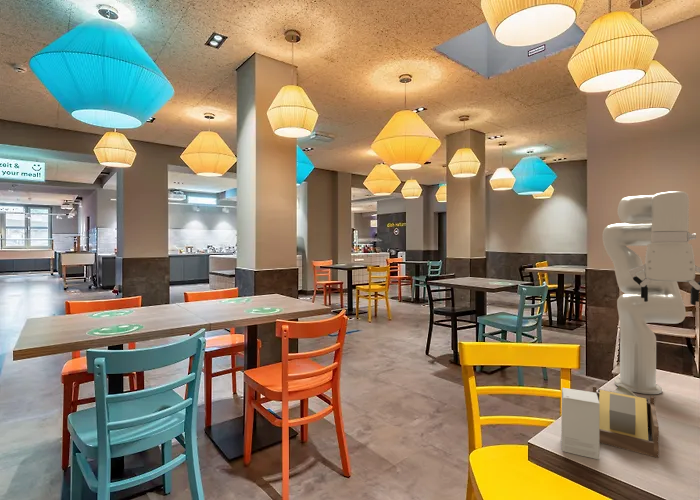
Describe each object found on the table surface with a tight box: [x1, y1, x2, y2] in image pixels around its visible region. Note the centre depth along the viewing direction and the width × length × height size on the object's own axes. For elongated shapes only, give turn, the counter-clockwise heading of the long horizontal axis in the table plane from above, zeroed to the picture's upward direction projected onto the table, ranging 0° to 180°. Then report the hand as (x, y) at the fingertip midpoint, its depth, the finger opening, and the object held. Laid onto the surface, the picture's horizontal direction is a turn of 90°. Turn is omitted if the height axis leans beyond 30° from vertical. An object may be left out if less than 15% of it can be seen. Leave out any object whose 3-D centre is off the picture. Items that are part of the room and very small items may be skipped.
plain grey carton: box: [609, 394, 636, 435], centre depth 91 cm, size 5×5×7 cm
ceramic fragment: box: [613, 386, 637, 396], centre depth 114 cm, size 14×5×4 cm, turn 171°
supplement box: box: [560, 387, 600, 460], centre depth 87 cm, size 7×7×13 cm
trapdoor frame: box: [592, 385, 660, 459], centre depth 94 cm, size 17×13×8 cm
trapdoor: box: [597, 389, 649, 441], centre depth 95 cm, size 14×11×1 cm
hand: (668, 302), depth 100 cm, fingers open, 9 cm apart
